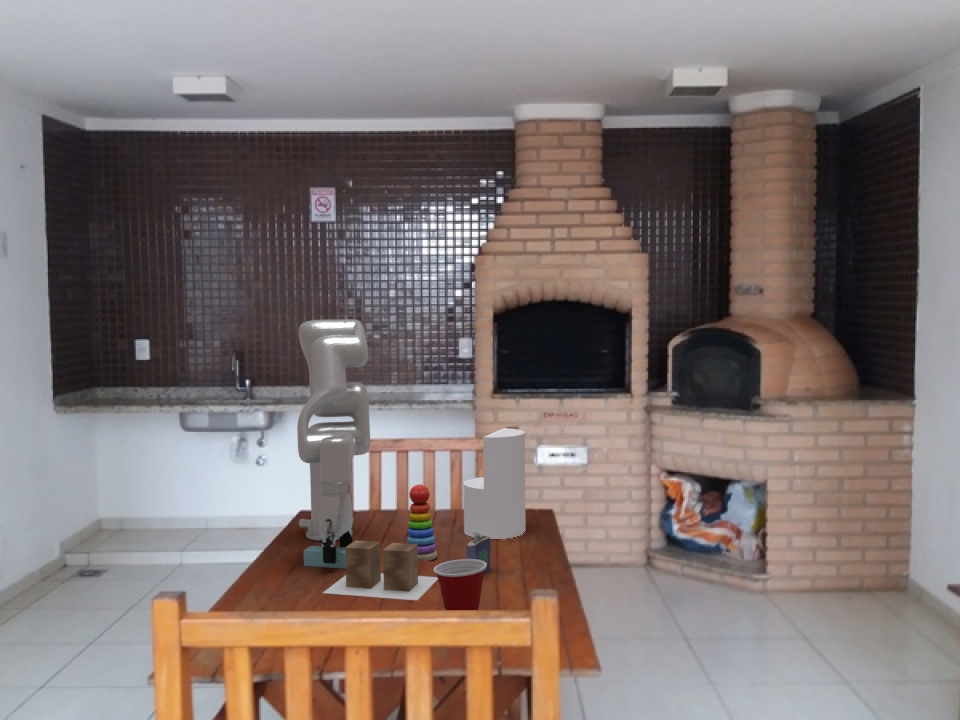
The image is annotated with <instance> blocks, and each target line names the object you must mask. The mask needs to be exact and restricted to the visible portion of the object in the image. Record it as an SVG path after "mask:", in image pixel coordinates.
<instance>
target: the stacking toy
mask: <svg viewBox="0 0 960 720" xmlns="http://www.w3.org/2000/svg"><path fill="white" fill-rule="evenodd" d="M429 498H430V490H429V488H428V487H427V486H426V485H423V484H421V483H420V484H415V485H414V486H412V487H411V488H410V490H409V499H410V501H411V502H412V503H411V504H410V506H409V509H410V511H411V512H410V513H408V518H409V521H408V527H409V528H408V529H407V534H408V536H407V544H417V549H418V561H421V562H424V561H425V562H429V561H432V560H434V559H436V557H437V555H438V553H437V552H438V551H437V550H436V548H437V545H436V542H435V540H436V536H435V535H434V533H435V529H434V527H433V521H432V519H431V516H432V514H431V512H430V510H431V505H430V504H429V503H428V501H429Z"/></svg>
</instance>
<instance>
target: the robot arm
mask: <svg viewBox="0 0 960 720" xmlns="http://www.w3.org/2000/svg"><path fill="white" fill-rule="evenodd" d="M298 340H299V345H300V347H301V351H302V353H303V355H304V358H305V360H306V362H307V367H308V374H309V375H308V377H309V379H308V380H309V382H308V383H309V399H308V401H307V402H306V403H305V405H304V406H303V408H302V409H301V411H300V413H299V416H298V419H297V427H296V428H297V430H296V432H297V449H298V450H297V451H298V457H299V459H300V460H301V461H302V462H303V463H306V464H309V475H310V476H309V478H310V479H309V480H310V483H309V484H310V515H311V516H310V517H311V518H310V519H306V518H301V519H299V521H298V525H299V526H298V527H299V528H306V529H307V531H306V532H305V536H306V538H307V539H309V540H311V541H317V542H318V541H319V542H321V546H322V547H323V562H324V563H331V564H335V563H336V547H337V546H336V541H339V547H342V548H345V547H347V546H348V545H350V544H351V543H353V535H354V532H353V528H354V515H353V503H352V494H353V475H352V474H353V472H352V464H353V463H352V462H353V461H352V459H354V458H353V457H354V456H362V455H363V456H364V455H366V454H367V453H369V450H370V447H371V426H370V403H369V394H368V390H367V388H366V386H365V385H364V384H363V383H361V382H357V381H349V382H348V381H347V373H346V368H360V367H361V368H362V367H364V366H366V364H367V362H368V359H369V346H368V340H367V337H366V333H365V328H364V325H363V323H362V322H361V321H360V320H359V319H354V318H353V319H344V318H343V319H313V320H307V321H304V322H303V323H301V324H300V325H299V328H298ZM313 416H315V417H318V418H340V417H341V418H342V417H343V418H344V417H350V418H351V419H352V420H353V421H352V420H351V421H349V420H348V421H329V422H327V421H326V422H318V423H314V424H312V425H310V426H309V424H310V421H311V419H312V417H313Z"/></svg>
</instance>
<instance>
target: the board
mask: <svg viewBox="0 0 960 720" xmlns="http://www.w3.org/2000/svg"><path fill="white" fill-rule="evenodd" d="M436 581H439V580H438V578H437V576H436V577H435V576H423V575H418V584H417V585H416V586H415V587H414V588H413V589H412V590H411V591H410V592H407V591H394V590H384V573H383V572H382V573H381V581H380V582H378V583H377V584H376V585H375V586H374V587H373V588H371V589H368V588H355V587H346V574H345V575H343V576H342V577H341V578H340V579H339V580H338V581H336V582H335V583H334V584H332V585H331V586H330V587H329V588H327V589H326V590H324V591H323V592H322V594H328V595H330V594H331V595H339V596H340V595H343V596H356V597H365V598H366V597H369V598H380V599H381V598H382V599H394V600H404V601H405V600H406V601H407V600H408V601H419V600H420V598H421V597H422V596H423V595H424V594H425V593H426V592H427V591H428V590H429V589H430V588H431V587H432V586H433V585H434V584H435V583H436Z"/></svg>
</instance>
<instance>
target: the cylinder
mask: <svg viewBox="0 0 960 720" xmlns="http://www.w3.org/2000/svg"><path fill="white" fill-rule="evenodd" d="M482 438H483V439H482V442H483V443H482V444H483V445H482V447H483V455H482V456H483V477H474V478H470V479H467V480H465V481H464V482H463V533H464V534H465V535H466V536H467V535H468V537H470V536H471V537H470V538H473V537H475V534H476V533H475V532H477V533H479V534H481V535H480V536H482V535H483V536H489V537H490V539H502V540H508V539H507V538H510V539H514V538H513V537H516V538H518V537H517V536H519V537H521V536H523V535H524V534H525V533H526V532H525V531H527V530H526V521H527V520H526V434H525V431H524V430H522V429H517V428H505V427H504V428H501V429H499V430H496V431H494V432H492V433H489V434H487V435H485V436H483V437H482ZM524 532H525V533H524ZM473 533H475V534H473ZM523 533H524V534H523ZM522 534H523V535H522ZM520 535H521V536H520Z"/></svg>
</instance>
